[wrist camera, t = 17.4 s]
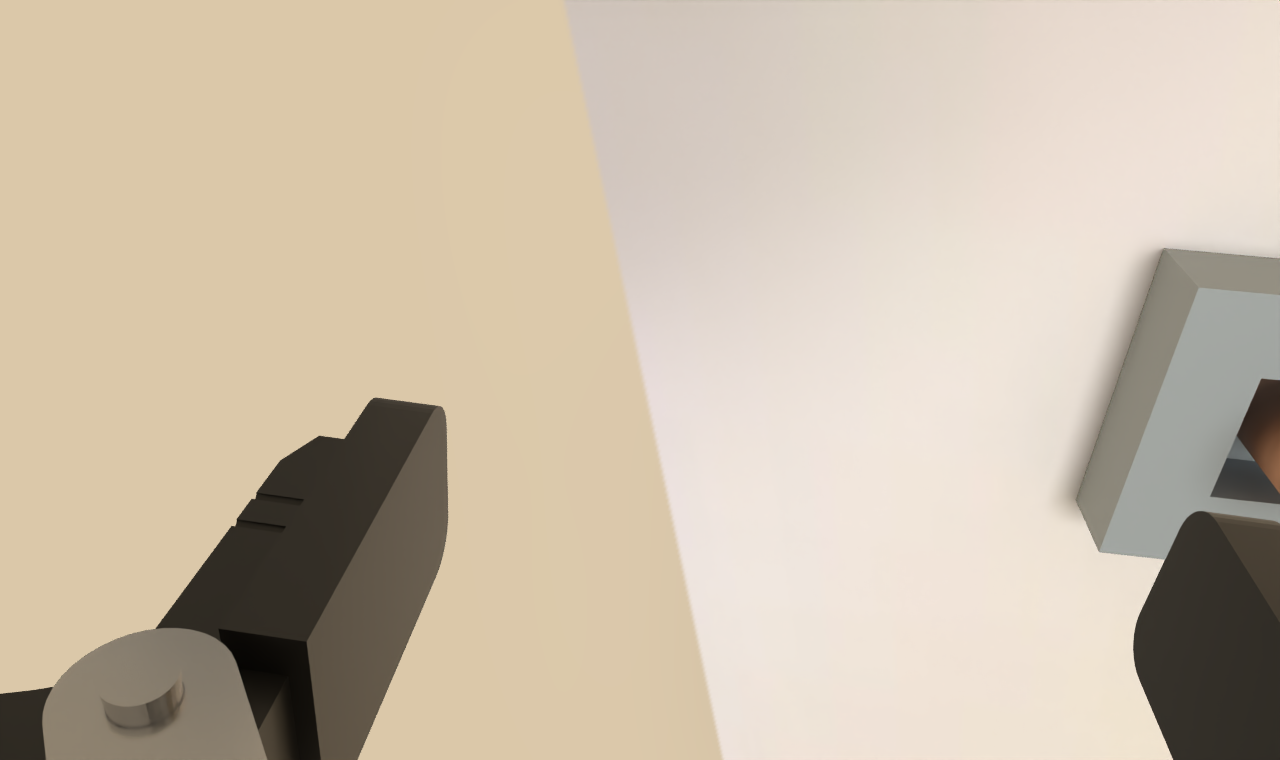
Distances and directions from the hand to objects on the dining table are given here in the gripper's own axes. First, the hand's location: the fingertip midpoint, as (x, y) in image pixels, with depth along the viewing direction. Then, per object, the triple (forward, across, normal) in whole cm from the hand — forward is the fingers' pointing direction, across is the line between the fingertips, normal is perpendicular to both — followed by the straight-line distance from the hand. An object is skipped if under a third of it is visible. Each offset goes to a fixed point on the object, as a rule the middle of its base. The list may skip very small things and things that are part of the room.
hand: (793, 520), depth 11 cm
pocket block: (+29, -22, +12) cm, 38 cm away
